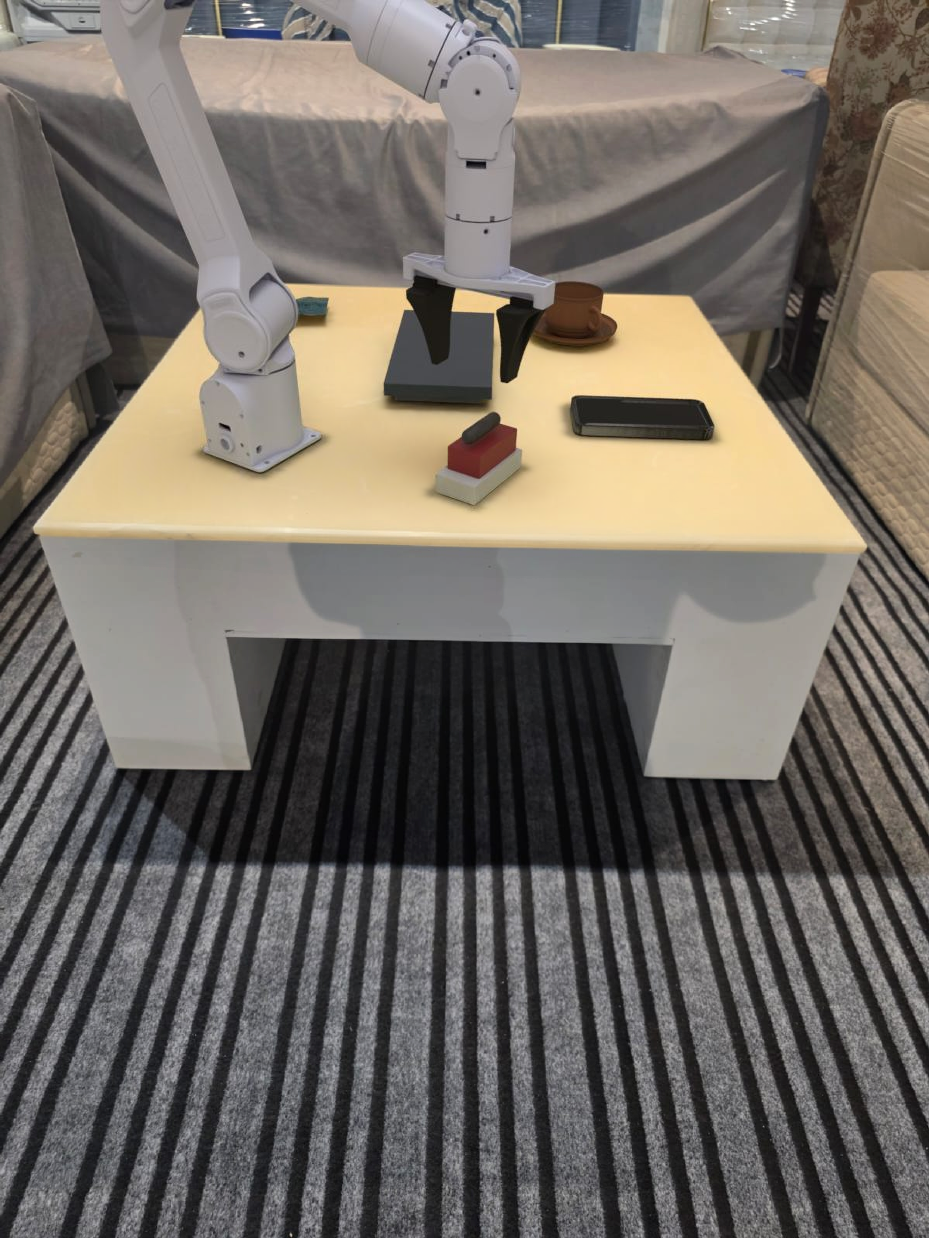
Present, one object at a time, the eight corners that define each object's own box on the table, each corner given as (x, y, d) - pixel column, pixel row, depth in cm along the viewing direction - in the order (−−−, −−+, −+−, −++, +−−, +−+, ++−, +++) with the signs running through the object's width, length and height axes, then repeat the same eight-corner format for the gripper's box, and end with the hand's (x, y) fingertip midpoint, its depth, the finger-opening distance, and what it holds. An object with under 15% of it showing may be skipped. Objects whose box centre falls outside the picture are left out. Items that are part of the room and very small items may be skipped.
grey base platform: (490, 412, 94) (492, 387, 92) (384, 408, 94) (383, 383, 92) (493, 335, 112) (494, 312, 111) (404, 332, 113) (404, 309, 111)
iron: (474, 505, 78) (476, 445, 74) (435, 492, 80) (435, 432, 76) (521, 467, 84) (525, 409, 80) (483, 455, 86) (486, 398, 82)
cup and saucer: (632, 337, 113) (639, 290, 109) (581, 361, 106) (587, 312, 102) (561, 315, 119) (565, 270, 115) (508, 336, 112) (510, 289, 108)
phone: (716, 430, 89) (575, 425, 89) (714, 440, 90) (574, 434, 90) (702, 399, 95) (570, 394, 95) (700, 408, 96) (569, 403, 96)
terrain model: (232, 327, 112) (230, 312, 111) (238, 310, 118) (236, 296, 117) (329, 325, 113) (328, 311, 112) (329, 309, 120) (328, 295, 118)
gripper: (576, 218, 70) (561, 373, 79) (432, 193, 76) (433, 341, 85) (537, 236, 66) (525, 399, 74) (387, 208, 71) (392, 363, 80)
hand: (473, 370), depth 79 cm, fingers open, 7 cm apart
